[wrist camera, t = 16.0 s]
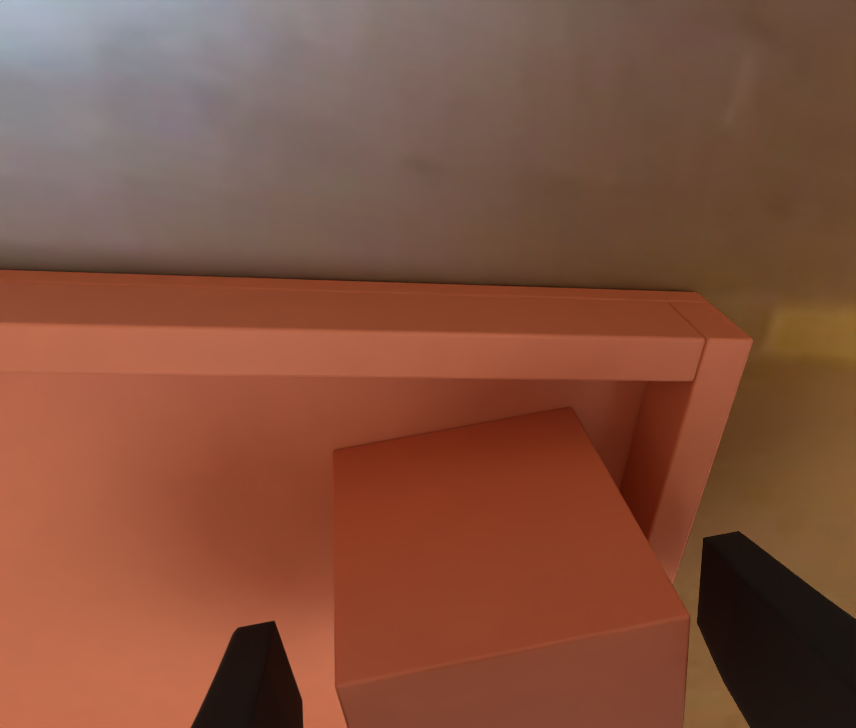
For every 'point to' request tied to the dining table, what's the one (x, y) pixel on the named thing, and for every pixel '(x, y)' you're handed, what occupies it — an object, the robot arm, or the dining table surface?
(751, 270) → the dining table surface
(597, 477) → the terracotta block
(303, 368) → the terracotta tray
